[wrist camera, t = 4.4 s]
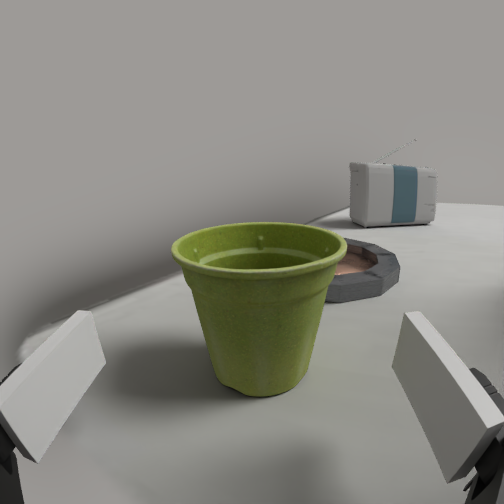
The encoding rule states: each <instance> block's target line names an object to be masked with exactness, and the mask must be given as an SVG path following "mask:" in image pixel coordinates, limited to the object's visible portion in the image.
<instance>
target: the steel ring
mask: <svg viewBox="0 0 504 504" xmlns="http://www.w3.org/2000/svg"><path fill="white" fill-rule="evenodd" d="M343 239H344V240H345V241H346V243H347V252H346V254H345V256H344V257H343V259H341V260H340V261H339V262H338V263H337V267H336V271H335V275H334V278H333V280H332V281H331V283H330V284H329V285H328V289H327V293H326V298H325V302H336V303H341V302H347V301H353V300H358V299H364V298H370V297H375V296H381V295H382V294H383V293H384V292H386V291H387V290H388V289H389V288H391V287H392V286H393V285H394V284H396V283H397V282H398V280H399V273H400V265H399V263H398V260H397V258H396V256H395V254H394V253H391V252H389V251H387V250H385V249H383V248H381V247H379V246H377V245H375V244H371V243H366V242H362V241H357V240H352V239H347V238H343Z"/></svg>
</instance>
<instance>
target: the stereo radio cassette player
mask: <svg viewBox="0 0 504 504" xmlns="http://www.w3.org/2000/svg"><path fill="white" fill-rule="evenodd" d="M413 141H416V139H414V140H413ZM411 142H412V141H411ZM411 142H409V143H407V144H405V145H403V146H401V147H399V148H398V149H395V150H394V151H392V152H390V153H388V154H386V155H384V156H383V157H381V158H379V159H377V160H375V161H374V162H372V163H354V162H351V163H350V171H351V182H350V184H351V185H350V218H351V219H352V221H353V222H354V223H357V224H360V225H362V226H364V227H365V228H367V227H369V226H388V225H408V224H429V223H430V222H431V221H434V219H435V212H436V201H437V172H436V170H435V169H430V168H428V167H425V168H423V167H413V166H402V165H388V164H385V163H383V164H375V163H376V162H378V161H379V160H381V159H383V158H385V157H387V156H389V155H391V154H392V153H394V152H396V151H398V150H399V149H401V148H403V147H404V146H406V145H408V144H410V143H411Z"/></svg>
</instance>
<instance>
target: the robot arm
mask: <svg viewBox="0 0 504 504" xmlns="http://www.w3.org/2000/svg"><path fill="white" fill-rule="evenodd" d="M105 363H106V360H105V357H104V354H103V351H102V348H101V344H100V341H99V337H98V334H97V330H96V327H95V323H94V319H93V315H92V312H91V311H80V310H78V311H77V312H76V313H75V314H74V315H72V316H71V317H70V318H69V319H68V320H67V321H66V322H65V323H64V324H63V325H62V326H60V327H59V328H58V329H57V330H56V331H55V332H54V333H53V334H52V335H51V336H50V337H49V338H48V339H47V340H46V341H45V342H43V343H42V344H41V345H40V346H39V347H38V348H37V349H36V350H35V351H34V352H33V353H32V354H31V355H30V356H29V357H28V358H27V359H26V360H25V361H24V362H23V363H21V364H19V365H18V366H16V367H15V368H14V369H13V370H12V371H11V372H10V373H9V374H8V376H6V377H5V378H4V379H3V380H2V382H0V504H24V500H23V495H22V490H21V485H20V479H19V473H18V466H17V458H16V455H15V453H14V452H13V450H14V448H15V447H17V449H18V450H19V451H20V453H21V454H22V455H23V456H24V457H25V458H27V459H29V460H32V461H33V462H35V463H37V464H38V463H39V462H40V460H41V459H42V457H43V455H44V453H45V452H46V451H47V449H48V447H49V446H50V444H51V443H52V441H53V439H54V438H55V437H56V435H57V433H58V432H59V430H60V429H61V427H62V426H63V424H64V423H65V421H66V420H67V418H68V417H69V415H70V414H71V412H72V411H73V409H74V408H75V406H76V405H77V403H78V402H79V401H80V399H81V398H82V396H83V395H84V393H85V392H86V390H87V389H88V388H89V386H90V385H91V383H92V382H93V380H94V379H95V378H96V376H97V375H98V373H99V372H100V370H101V369H102V368H103V366H104V365H105ZM392 368H393V370H394V372H395V373H396V375H397V377H398V379H399V381H400V383H401V385H402V387H403V389H404V391H405V393H406V395H407V397H408V399H409V401H410V403H411V405H412V407H413V409H414V411H415V413H416V415H417V417H418V419H419V422H420V424H421V426H422V428H423V430H424V432H425V434H426V436H427V439H428V441H429V443H430V445H431V447H432V450H433V452H434V454H435V456H436V459H437V461H438V463H439V466H440V468H441V470H442V473H443V475H444V477H445V480H446V482H447V484H448V483H451V482H453V481H456V480H458V479H461V478H463V477H466V476H467V475H468V473H469V472H470V471H471V470H472V468H473V467H474V466H475V468H476V470H477V474H476V475H475V476H474V477H473V478H472V479H471V481H470V482H469V483H468V484H467V485H466V486H465V488H464V490H463V491H466V490H467V489H468V488H469V487H470V486H471V487H470V490H469V493H468V496H467V499H466V501H465V504H504V399H503V398H502V396H501V395H500V394H499V393H497V390H496V389H495V387H494V386H492V384H491V382H490V381H489V380H488V379H487V377H486V376H485V375H484V374H483V373H481V372H480V371H478V370H477V369H475V368H471V369H468V368H467V366H466V365H465V364H464V363H463V361H462V360H461V359H460V358H459V356H458V355H457V354H456V353H455V352H454V350H453V349H452V348H451V347H450V345H449V344H448V343H447V342H446V341H445V340H444V338H443V337H442V336H441V335H440V334H439V332H438V331H437V330H436V329H435V328H434V327H433V326H432V324H431V323H430V322H429V321H428V320H427V319H426V318H425V316H424V315H423V314H422V313H421V312H420V311H416V312H405V313H404V316H403V321H402V326H401V330H400V335H399V339H398V343H397V348H396V352H395V356H394V359H393V363H392Z"/></svg>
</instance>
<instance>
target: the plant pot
mask: <svg viewBox="0 0 504 504" xmlns="http://www.w3.org/2000/svg"><path fill="white" fill-rule="evenodd" d="M171 252H172V256H173V258H174V260H175V261H176V262H177V263H178V264H179V265H181V267H182V270H183V274H184V277H185V281H186V283H187V284H188V286H189V287H190V288H191V290H192V294H193V298H194V301H195V305H196V309H197V312H198V316H199V320H200V323H201V327H202V330H203V334H204V337H205V341H206V344H207V348H208V351H209V355H210V358H211V362H212V365H213V368H214V371H215V374H216V376H217V378H218V380H219V381H220V382H221V383H222V384H223V385H225V386H229V387H232V388H234V389H236V390H238V391H240V392H241V393H243V394H244V395H248V396H271V395H276V394H280V393H283V392H286V391H288V390H290V389H292V388H293V387H295V386H296V385H297V384H298V382H299V381H300V380H301V379H302V377H303V376H304V375H305V373H306V372H307V369H308V365H309V362H310V358H311V354H312V350H313V346H314V342H315V338H316V334H317V330H318V327H319V323H320V319H321V315H322V311H323V306H324V302H325V298H326V293H327V289H328V285H329V284H330V283H331V281H332V280H333V278H334V275H335V271H336V267H337V263H338V262H339V261H340V260H341V259H343V257H344V256H345V254H346V252H347V243H346V241H345V240H344V239H343V237H341V236H340V235H338V234H336V233H334V232H332V231H329V230H326V229H323V228H319V227H314V226H309V225H302V224H294V223H279V222H250V223H236V224H228V225H221V226H216V227H210V228H205V229H201V230H198V231H195V232H192V233H189V234H187V235H185V236H183V237H181V238H180V239H178V240H176V241H175V242H174V244H173V245H172V248H171Z"/></svg>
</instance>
